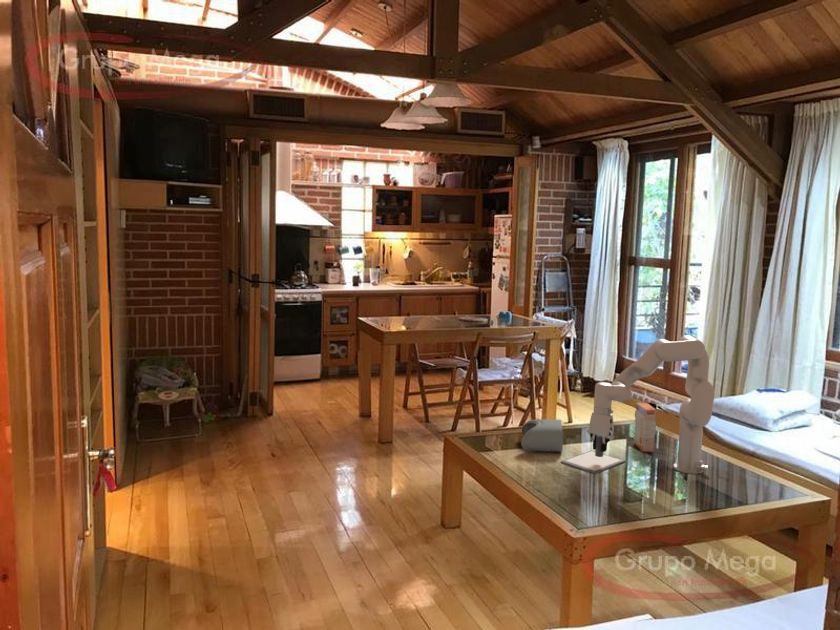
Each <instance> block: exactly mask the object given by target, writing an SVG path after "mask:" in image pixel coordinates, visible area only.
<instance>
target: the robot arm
mask: <svg viewBox="0 0 840 630" xmlns="http://www.w3.org/2000/svg"><path fill="white" fill-rule="evenodd" d="M678 339H679V340H678V341H670V340H668V339H664V338H659V339H657V340H655V341H653V343H652V344H651V345H650V346H649V347H648V348H647V350H645V351H644V352H643V353H642V354H641V356H640V357H639V358H638V359H637V360H636V361H635V362H633V363H632V364H630V365H629V366H628V367H626V368H625V369H624V370H623V371H621V372H620V373H619V375H617V377H615V379H613V380H612V382H611V383H610V382H605V381H603V382H602V381H601V382H597V383H596V384H595V386H594V397H593V398H594V400H593V401H594V402H593V410H592V412H591V415H590V420H589V427H588V429H587V430H586V433H588V435H589V436H590V437H591V438H590V439H591V440H592V450H593V451H595V447H596V435H600V436H602V439H603V443H602V444H601V452H603V453H604V452H606V451H607V448H608V443H609V442H611V441H613V440H615V436H614V429H615V428H614V427H615V425H614V416H613V413H614V410H612V401H614V402H619V403H625V402H628V401H629V400H630V399H631V397H632V395H633V394H632V391H631V387H632V386H633V385H634V384H635V382H637V381H639V380H640V379H643V378H647V377H650V376H651V375H652V374H653V373H654V372H655V371H656V370H657V369H658V368H659V367H660V366H661V365H662V364H663V363H664V362H667V363H668V362H682V361H687V373H686V379H685V386H684V390H685V392H686V393H687V394H688V396H690V398H688V399H685V400H684V401H682V402H681V404H680V407H679V410H678V411H679V413H678V414H679V431H678V444H677V445H678V446H677V448H678V449H677V461H676V462H675V463H673V464H672V465H673V467H672V468H673V469H674V470H676V471H677V472H680V473H682V474H687V475H688V474H689V475H699V474H698V473H700V474H702V473H704V472H709V465H707V464H706V465H705V464H703V463H704V462H703V460H702V459H701V458H702V447H703V433H704V430H703V429H704V427H706V426H707V425H708V424H709V423H710V421H711V418H712V414H713V407H714V401H715V389H714V386H713V385H712V383H711V382H710V381H709V372H710V360H709V355H708V352H707V350H706V346H705V344H704V342H702V341H701V339H698V338H696V337H694V336H693V335H689V334H688V335H687V334H685V335H683V336H681V337H680V338H678Z"/></svg>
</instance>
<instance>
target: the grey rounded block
mask: <svg viewBox="0 0 840 630" xmlns="http://www.w3.org/2000/svg"><path fill="white" fill-rule="evenodd" d="M521 433H522V435H523V437H522V439H521V442H520V443H521V447H522V448H523V450H525V451H528V452H534V451H535V452H563V447H564V446H563V443H564V441H563V440H564V439H563V438H564V436H563V435H564V434H563V423H562V419H529V420H527V421H526V422H525V423H524V424H523V426H522V428H521Z"/></svg>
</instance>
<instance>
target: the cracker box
mask: <svg viewBox="0 0 840 630" xmlns="http://www.w3.org/2000/svg"><path fill="white" fill-rule="evenodd" d="M648 403H649V402H636V405H635V411H636V419H635V420H634V433H633V443H634V444H635V446H636V447H637V448H638V449H639V451H641V452H643V453H644V452H647V453H653V452H654V450H655V438H656V436H655V435H656V434H655V431H656V430H655V425H656V426H657V415H656V412H658V411H657V409H654V408H653V407H652V406H651V405H649V404H648Z"/></svg>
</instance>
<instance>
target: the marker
mask: <svg viewBox="0 0 840 630" xmlns="http://www.w3.org/2000/svg"><path fill="white" fill-rule="evenodd" d="M602 443H603V439H602V436H600V435H596V447H595V450H594V451H595V456H597V457H603V454H604V452H601V444H602Z"/></svg>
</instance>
